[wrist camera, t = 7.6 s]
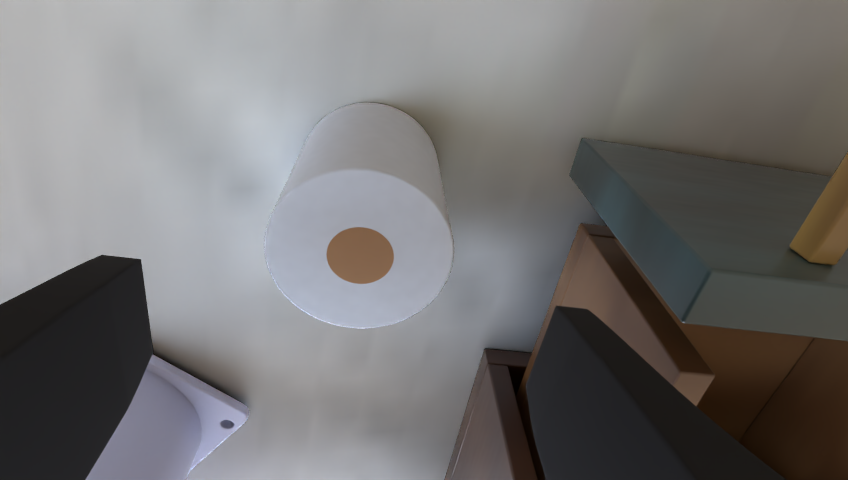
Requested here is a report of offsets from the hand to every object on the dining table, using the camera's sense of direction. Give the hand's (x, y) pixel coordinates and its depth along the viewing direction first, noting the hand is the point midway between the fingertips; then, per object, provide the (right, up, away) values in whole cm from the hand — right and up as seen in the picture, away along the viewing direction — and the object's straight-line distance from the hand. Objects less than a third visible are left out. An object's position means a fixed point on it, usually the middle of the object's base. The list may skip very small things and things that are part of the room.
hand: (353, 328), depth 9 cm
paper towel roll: (0, +4, +6) cm, 8 cm away
